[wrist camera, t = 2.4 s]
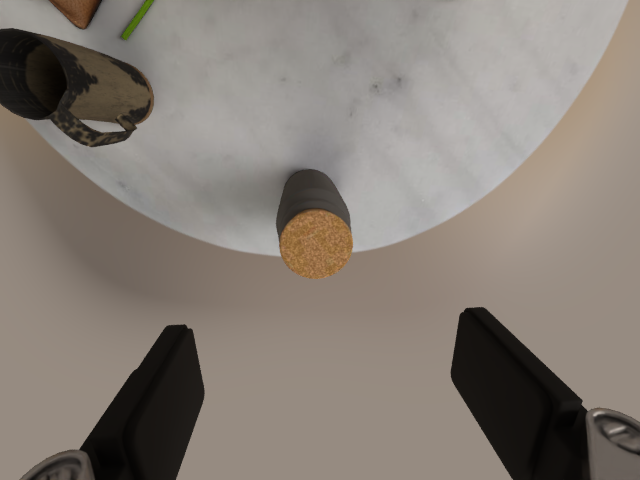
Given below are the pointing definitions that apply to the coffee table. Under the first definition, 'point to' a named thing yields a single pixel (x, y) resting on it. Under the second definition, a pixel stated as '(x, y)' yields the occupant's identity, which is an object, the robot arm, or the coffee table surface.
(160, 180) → the coffee table surface
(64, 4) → the sunglasses case
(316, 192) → the bottle
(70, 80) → the mug
